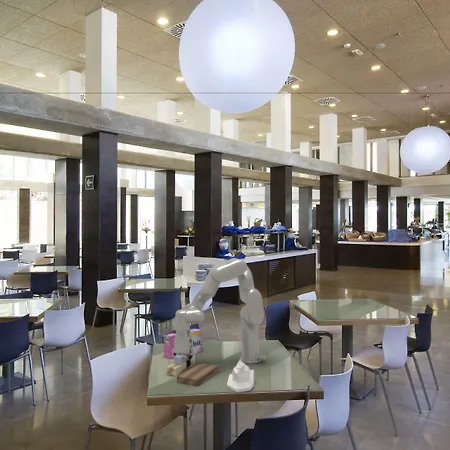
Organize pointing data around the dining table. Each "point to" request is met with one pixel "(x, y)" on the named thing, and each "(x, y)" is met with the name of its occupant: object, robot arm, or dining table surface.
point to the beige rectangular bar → (178, 368)
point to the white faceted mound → (241, 378)
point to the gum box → (170, 342)
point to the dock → (197, 374)
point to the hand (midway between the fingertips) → (183, 365)
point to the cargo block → (179, 359)
